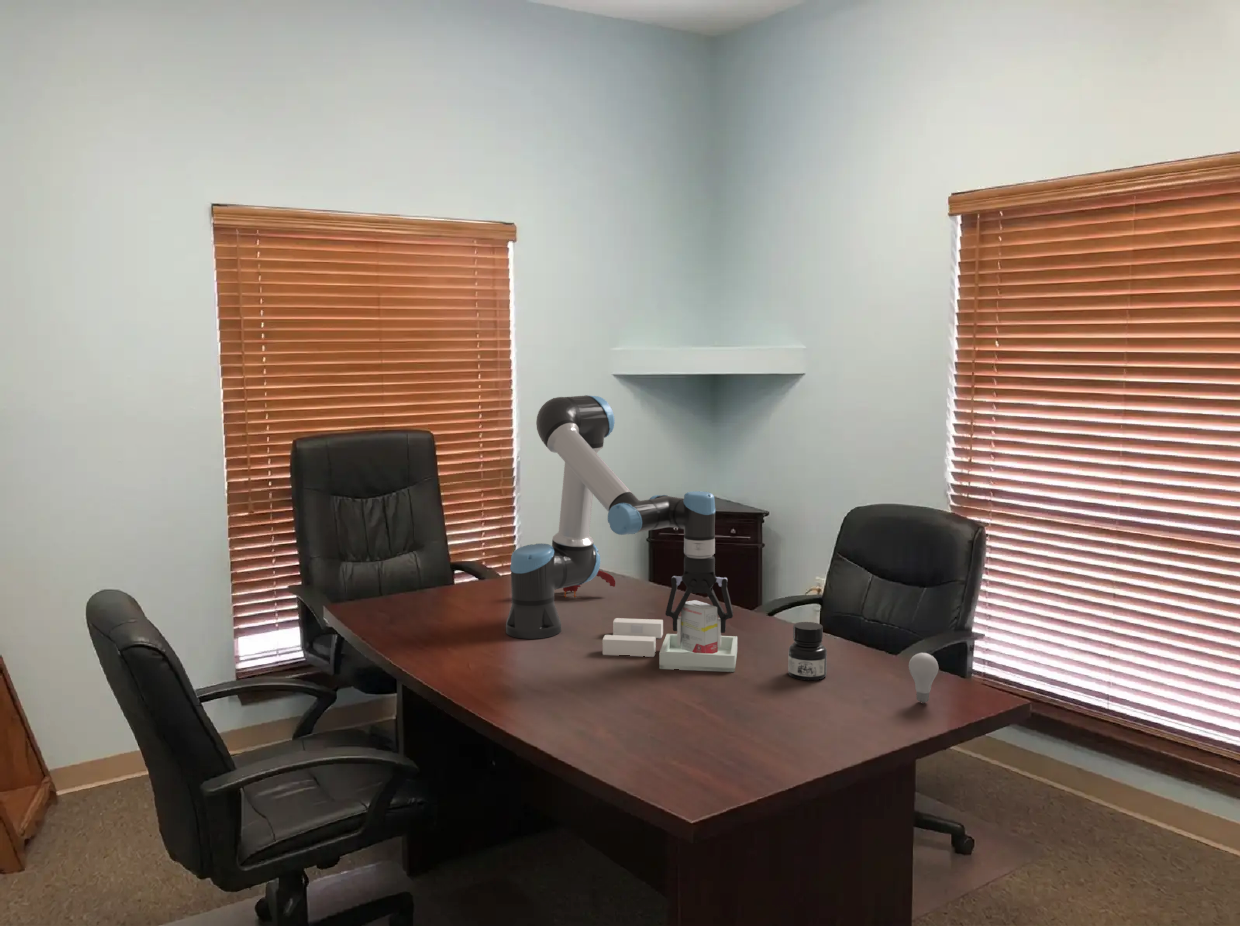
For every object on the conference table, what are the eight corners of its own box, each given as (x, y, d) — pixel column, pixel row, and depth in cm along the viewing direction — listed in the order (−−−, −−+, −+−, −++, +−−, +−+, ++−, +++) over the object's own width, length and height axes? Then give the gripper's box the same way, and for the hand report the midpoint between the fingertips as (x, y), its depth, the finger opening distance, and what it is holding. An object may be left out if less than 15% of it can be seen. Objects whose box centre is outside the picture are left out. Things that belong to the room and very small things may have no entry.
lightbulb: (933, 709, 205) (934, 659, 204) (904, 704, 208) (905, 654, 207) (940, 701, 210) (942, 651, 209) (912, 696, 213) (913, 647, 212)
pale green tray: (659, 668, 233) (659, 652, 233) (666, 648, 249) (666, 633, 248) (734, 672, 230) (734, 655, 230) (737, 651, 246) (737, 636, 245)
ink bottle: (782, 678, 225) (783, 628, 224) (790, 667, 233) (791, 618, 232) (824, 683, 222) (825, 632, 220) (831, 672, 230) (832, 622, 228)
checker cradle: (602, 654, 244) (602, 639, 244) (615, 632, 264) (615, 618, 264) (653, 656, 242) (653, 641, 242) (663, 634, 262) (662, 619, 261)
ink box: (718, 652, 237) (719, 605, 236) (704, 656, 234) (704, 608, 233) (694, 644, 244) (694, 598, 243) (680, 648, 241) (680, 602, 240)
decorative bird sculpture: (526, 609, 305) (522, 582, 294) (527, 584, 311) (524, 557, 300) (615, 608, 306) (615, 581, 294) (615, 583, 312) (615, 556, 300)
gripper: (653, 557, 235) (653, 647, 237) (743, 559, 231) (743, 651, 234) (656, 550, 242) (657, 638, 244) (745, 553, 238) (744, 641, 241)
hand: (699, 644), depth 239 cm, fingers closed on ink box, 9 cm apart
